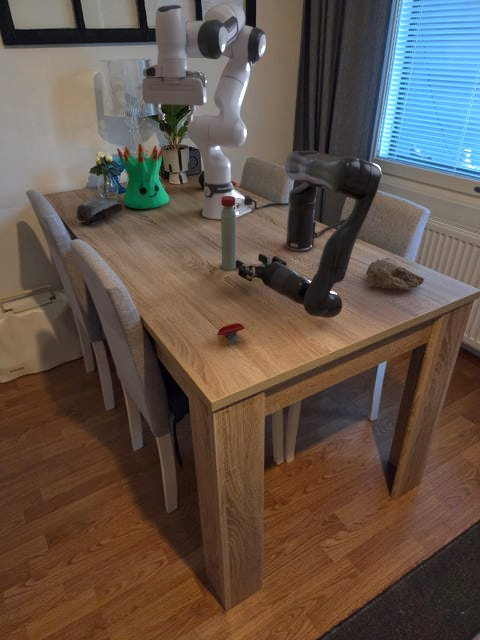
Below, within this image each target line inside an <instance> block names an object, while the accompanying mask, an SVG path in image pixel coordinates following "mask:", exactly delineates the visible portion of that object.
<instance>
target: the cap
mask: <svg viewBox="0 0 480 640" xmlns="http://www.w3.org/2000/svg"><path fill="white" fill-rule="evenodd" d="M222 206H225V207H232V206H235V197H233V196H224V197H222Z"/></svg>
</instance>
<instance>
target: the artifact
mask: <svg viewBox="0 0 480 640" xmlns="http://www.w3.org/2000/svg"><path fill="white" fill-rule="evenodd" d="M365 275H366V283H367V285H368V286H369V287H370V288H372V289H374V288H377V287H378V286H379V287H381V288H383V289H397V290H403V291H406V290H408V289H413V288H415V289H416V288H417V287H419V286H421V285H423V283H424V280H425V278H424V277H422V276H419V275H418V274H416V273H414V272H412V271H410V270H408V269H407V268H406V267H402V266H401V265H399V264H398V263H397V262H396V261H395V260H394V259H393V258H391V257H385V258H383V259H377V260H376V261H372V262H371V263H370V264H369V266H368V268H367V269H366V271H365Z"/></svg>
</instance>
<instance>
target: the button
mask: <svg viewBox="0 0 480 640" xmlns="http://www.w3.org/2000/svg"><path fill="white" fill-rule="evenodd" d="M245 329H246V326H244V325H243V324H241V323H238V322H236V323H229V324H227V325H225V326H222V327H221V328H220V329H218V331H217V333H216V336H217V337H222V336H228V342H229V343H230V344H233V345H235V344H236V343H237V342H239V337H238V336H237V333H238V332H240V331H243V330H245Z"/></svg>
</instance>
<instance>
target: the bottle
mask: <svg viewBox="0 0 480 640" xmlns="http://www.w3.org/2000/svg"><path fill="white" fill-rule="evenodd" d="M220 238H221V240H220V241H221V242H220V243H221V244H220V245H221V268H222V269H223V270H226V271H233V270H235V269H237V268H236V261H237V218H236V212H235V209H234V208H233V206H232V207H225V206H224V208H223V210H222V212H221V219H220Z"/></svg>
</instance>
